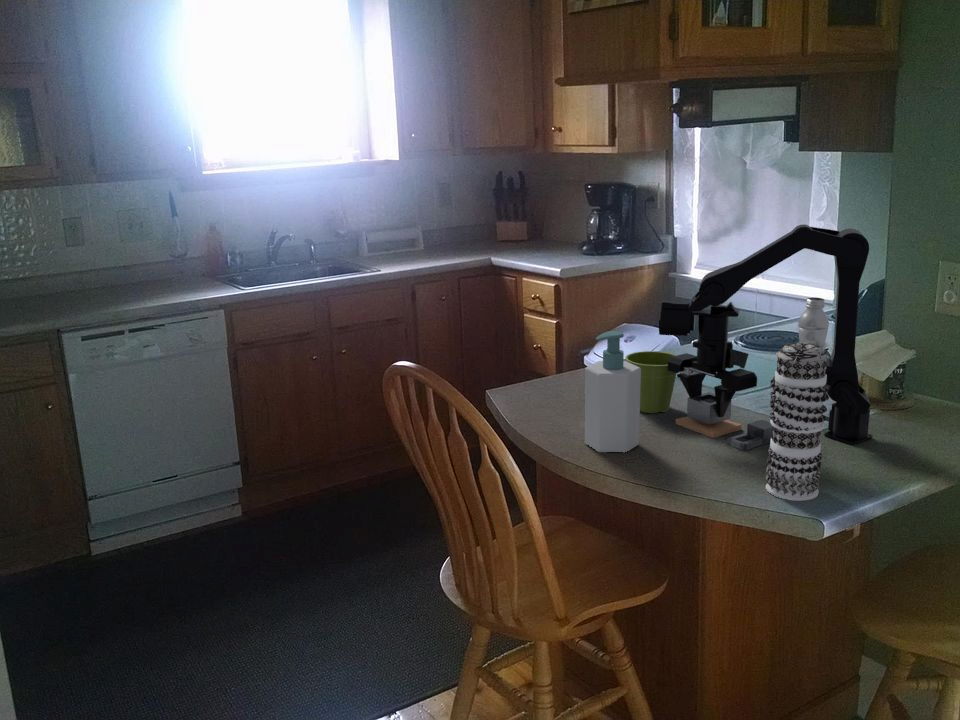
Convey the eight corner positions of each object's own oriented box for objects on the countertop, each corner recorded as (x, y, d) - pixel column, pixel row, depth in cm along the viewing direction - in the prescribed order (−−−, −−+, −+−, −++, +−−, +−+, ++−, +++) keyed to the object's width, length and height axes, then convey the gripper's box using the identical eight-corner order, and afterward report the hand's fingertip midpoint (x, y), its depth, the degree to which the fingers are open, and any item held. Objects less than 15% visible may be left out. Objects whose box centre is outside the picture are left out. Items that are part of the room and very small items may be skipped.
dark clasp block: (777, 439, 176) (778, 425, 175) (743, 450, 171) (744, 435, 170) (760, 434, 179) (761, 419, 178) (726, 444, 174) (727, 429, 173)
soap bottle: (577, 439, 178) (578, 329, 172) (617, 432, 182) (620, 324, 176) (604, 457, 169) (606, 342, 163) (646, 449, 173) (650, 336, 167)
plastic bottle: (828, 388, 206) (836, 301, 200) (798, 389, 206) (805, 302, 200) (819, 380, 212) (826, 295, 206) (789, 380, 212) (795, 296, 207)
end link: (730, 418, 182) (731, 399, 181) (709, 424, 179) (710, 405, 178) (708, 410, 187) (708, 392, 186) (686, 416, 184) (687, 397, 183)
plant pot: (685, 417, 189) (687, 365, 186) (627, 418, 190) (628, 366, 187) (675, 399, 201) (677, 350, 198) (621, 400, 201) (622, 350, 198)
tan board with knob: (741, 429, 182) (742, 403, 180) (712, 437, 177) (714, 411, 176) (703, 416, 190) (704, 390, 188) (675, 424, 186) (676, 398, 184)
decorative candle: (776, 503, 148) (787, 355, 141) (754, 481, 157) (763, 340, 150) (830, 500, 149) (844, 352, 142) (805, 478, 158) (817, 337, 151)
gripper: (778, 340, 175) (773, 417, 179) (706, 322, 190) (702, 393, 195) (738, 349, 169) (734, 428, 174) (667, 330, 185) (664, 403, 189)
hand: (709, 412), depth 183 cm, fingers closed on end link, 6 cm apart
